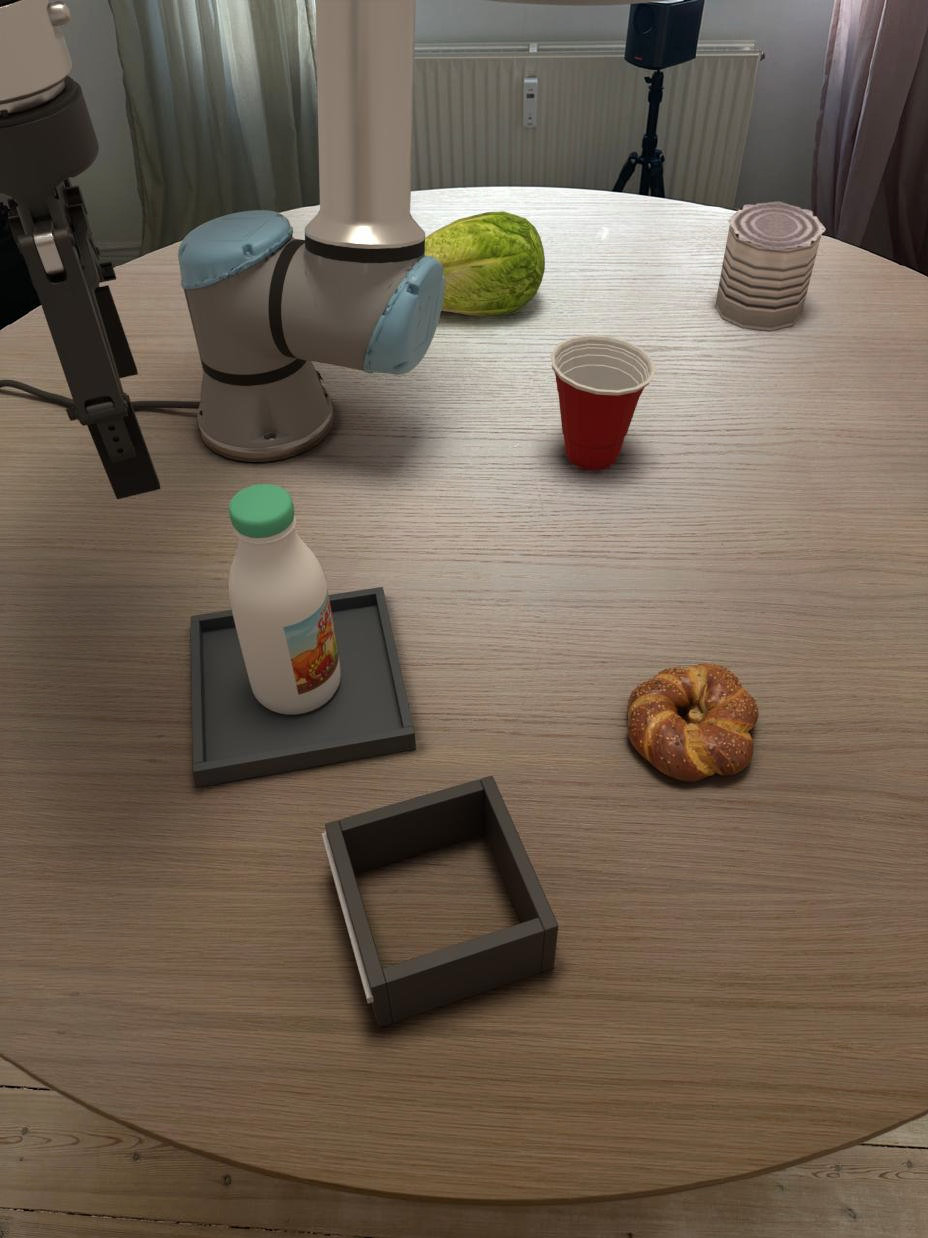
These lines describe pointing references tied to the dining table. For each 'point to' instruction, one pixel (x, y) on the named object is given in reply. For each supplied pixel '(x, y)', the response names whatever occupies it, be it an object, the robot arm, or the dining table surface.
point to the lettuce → (488, 263)
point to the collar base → (462, 964)
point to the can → (767, 265)
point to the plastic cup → (598, 395)
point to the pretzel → (693, 722)
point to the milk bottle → (280, 605)
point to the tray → (335, 732)
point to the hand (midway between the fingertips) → (127, 429)
